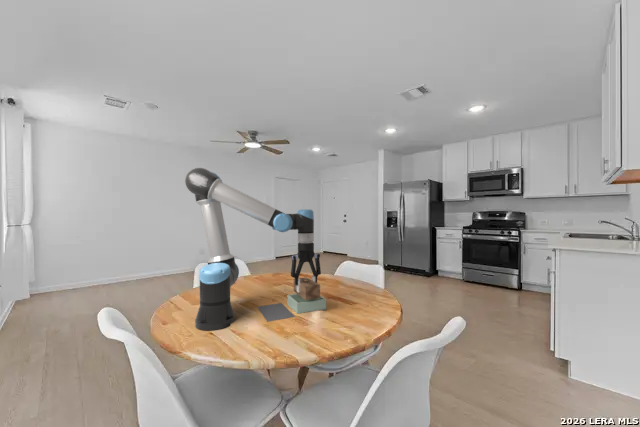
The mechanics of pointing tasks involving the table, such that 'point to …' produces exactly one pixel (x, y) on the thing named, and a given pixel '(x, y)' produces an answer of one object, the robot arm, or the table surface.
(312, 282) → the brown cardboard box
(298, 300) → the dish
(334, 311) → the table surface
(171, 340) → the table surface
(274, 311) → the mat
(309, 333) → the table surface
